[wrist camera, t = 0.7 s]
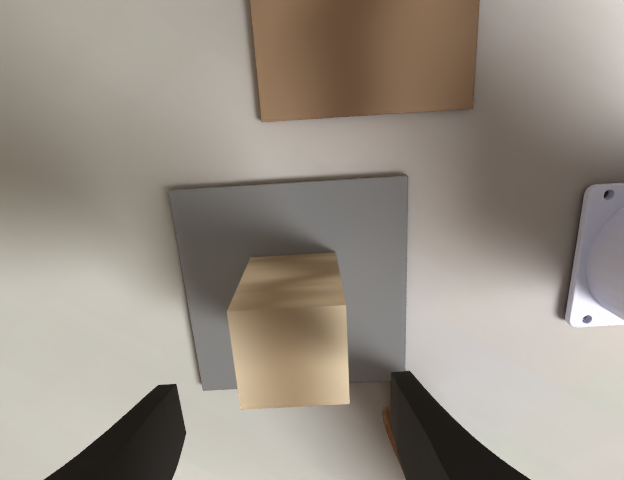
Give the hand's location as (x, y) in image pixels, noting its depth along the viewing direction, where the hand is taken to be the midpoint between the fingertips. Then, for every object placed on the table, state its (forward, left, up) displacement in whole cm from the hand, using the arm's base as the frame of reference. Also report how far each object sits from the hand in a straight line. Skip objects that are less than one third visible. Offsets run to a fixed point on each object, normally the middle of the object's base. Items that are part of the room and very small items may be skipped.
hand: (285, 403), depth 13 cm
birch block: (0, 0, -8) cm, 8 cm away
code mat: (0, 0, -9) cm, 9 cm away
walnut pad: (-4, -14, -9) cm, 17 cm away
